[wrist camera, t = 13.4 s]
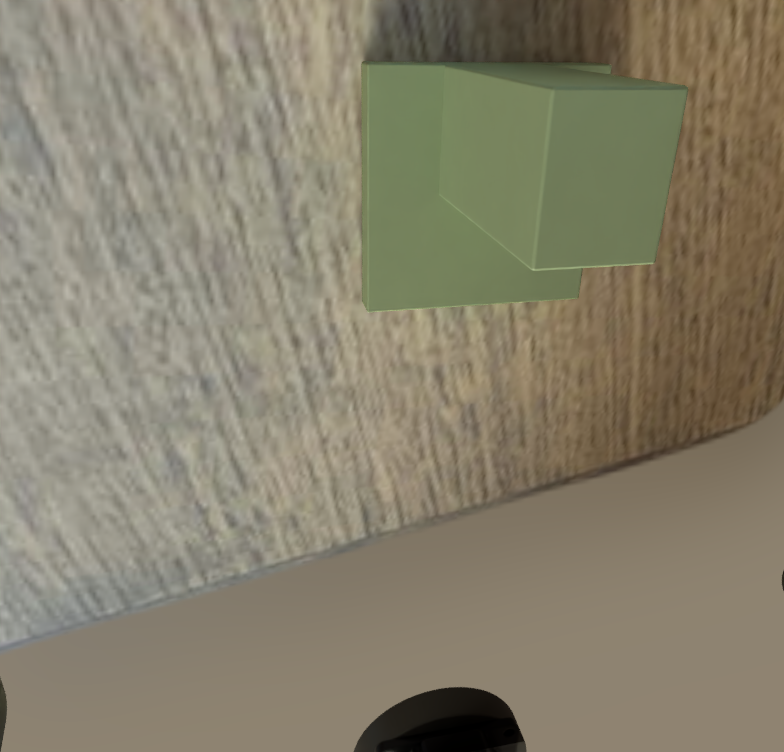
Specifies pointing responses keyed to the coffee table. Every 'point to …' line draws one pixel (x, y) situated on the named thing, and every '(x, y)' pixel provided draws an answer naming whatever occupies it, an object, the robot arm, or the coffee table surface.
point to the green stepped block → (508, 178)
